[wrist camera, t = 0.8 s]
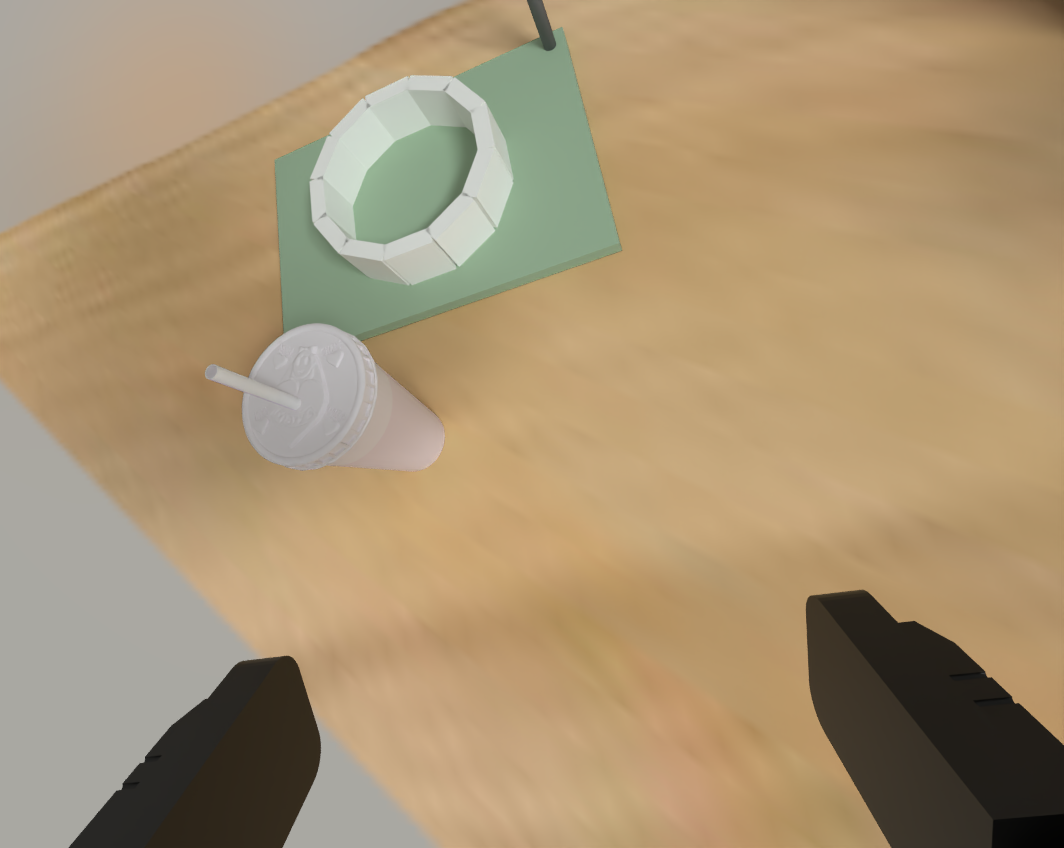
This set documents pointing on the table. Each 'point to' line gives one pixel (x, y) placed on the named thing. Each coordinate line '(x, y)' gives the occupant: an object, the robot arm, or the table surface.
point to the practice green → (443, 194)
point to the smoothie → (331, 406)
